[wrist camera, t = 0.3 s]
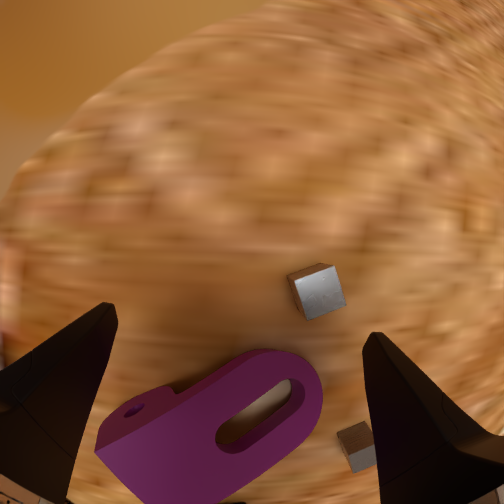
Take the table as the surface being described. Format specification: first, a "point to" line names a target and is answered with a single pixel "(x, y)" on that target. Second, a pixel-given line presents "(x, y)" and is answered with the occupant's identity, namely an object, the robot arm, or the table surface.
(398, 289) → the table surface
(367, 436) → the stop blocks
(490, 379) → the table surface
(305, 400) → the mounting bracket
